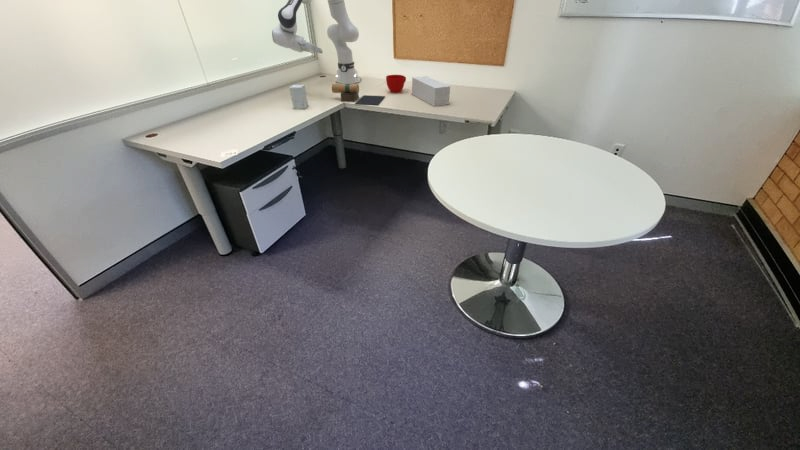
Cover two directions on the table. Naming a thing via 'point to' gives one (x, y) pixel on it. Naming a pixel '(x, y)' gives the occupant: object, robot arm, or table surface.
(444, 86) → the long light grey block
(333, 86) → the paper roll
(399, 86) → the ceramic cup
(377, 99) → the mat
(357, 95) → the cradle
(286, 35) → the robot arm
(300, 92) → the white packaging box
